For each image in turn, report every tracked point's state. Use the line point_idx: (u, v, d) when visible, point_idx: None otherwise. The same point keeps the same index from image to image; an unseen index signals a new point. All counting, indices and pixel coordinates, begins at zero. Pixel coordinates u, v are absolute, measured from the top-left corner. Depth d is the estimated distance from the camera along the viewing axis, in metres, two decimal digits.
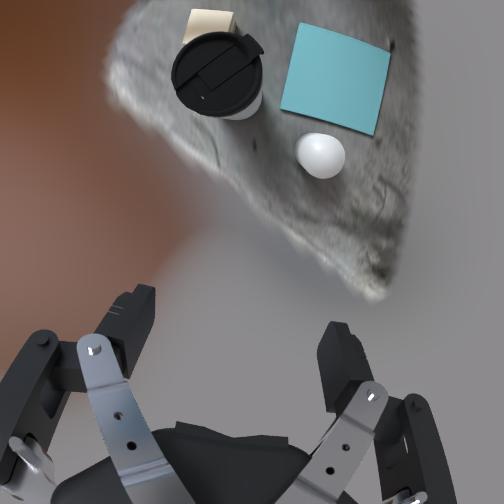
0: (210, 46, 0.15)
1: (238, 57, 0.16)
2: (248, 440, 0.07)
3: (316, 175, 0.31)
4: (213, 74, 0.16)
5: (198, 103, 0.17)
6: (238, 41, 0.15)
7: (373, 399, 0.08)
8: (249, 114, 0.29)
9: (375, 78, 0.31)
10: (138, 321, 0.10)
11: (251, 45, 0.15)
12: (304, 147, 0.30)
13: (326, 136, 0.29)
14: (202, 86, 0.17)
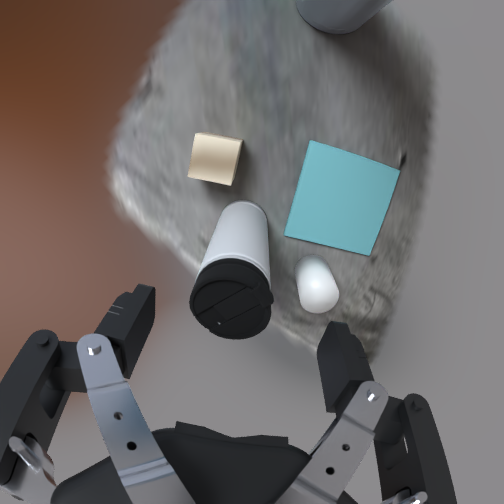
0: (224, 285, 0.21)
1: (250, 298, 0.21)
2: (248, 440, 0.07)
3: (311, 311, 0.36)
4: (227, 308, 0.21)
5: (215, 326, 0.23)
6: (250, 292, 0.20)
7: (373, 399, 0.08)
8: None
9: (380, 200, 0.36)
10: (138, 321, 0.10)
11: (262, 297, 0.20)
12: (303, 291, 0.35)
13: (324, 281, 0.34)
14: (218, 315, 0.22)
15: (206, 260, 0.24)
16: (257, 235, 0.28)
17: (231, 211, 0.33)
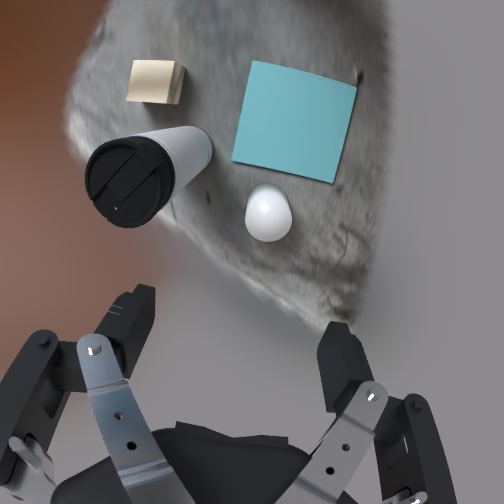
0: (113, 155, 0.16)
1: (140, 167, 0.17)
2: (248, 440, 0.07)
3: (261, 239, 0.32)
4: (120, 185, 0.17)
5: (112, 213, 0.18)
6: (134, 153, 0.16)
7: (373, 399, 0.08)
8: None
9: (337, 119, 0.31)
10: (138, 321, 0.10)
11: (147, 157, 0.16)
12: (248, 212, 0.31)
13: (271, 199, 0.30)
14: (113, 197, 0.18)
15: None
16: (180, 135, 0.24)
17: None
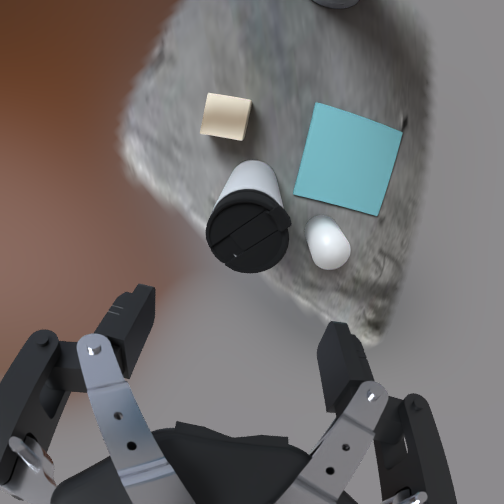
0: (241, 210, 0.21)
1: (267, 223, 0.21)
2: (249, 440, 0.07)
3: (324, 267, 0.36)
4: (244, 237, 0.22)
5: (231, 259, 0.23)
6: (268, 213, 0.20)
7: (373, 399, 0.08)
8: None
9: (385, 160, 0.36)
10: (138, 321, 0.10)
11: (280, 219, 0.20)
12: (315, 245, 0.35)
13: (335, 235, 0.34)
14: (234, 246, 0.22)
15: (222, 195, 0.24)
16: (270, 180, 0.28)
17: (242, 166, 0.33)
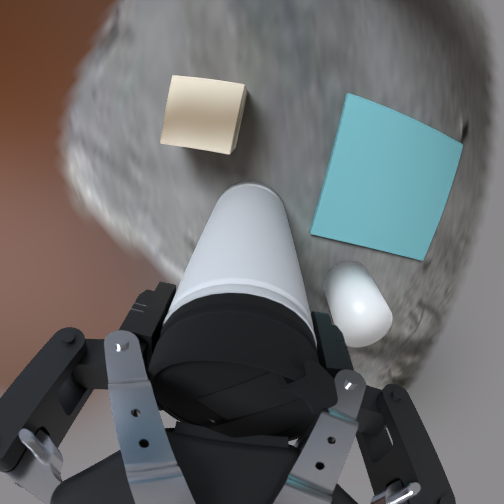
0: (216, 367, 0.08)
1: (280, 389, 0.08)
2: (248, 440, 0.07)
3: (352, 345, 0.23)
4: (227, 405, 0.09)
5: (205, 425, 0.10)
6: (286, 389, 0.07)
7: (349, 387, 0.09)
8: None
9: (440, 184, 0.23)
10: (162, 318, 0.11)
11: (314, 397, 0.07)
12: (343, 318, 0.22)
13: (374, 304, 0.21)
14: (209, 410, 0.09)
15: (180, 293, 0.11)
16: (280, 237, 0.15)
17: (231, 197, 0.20)
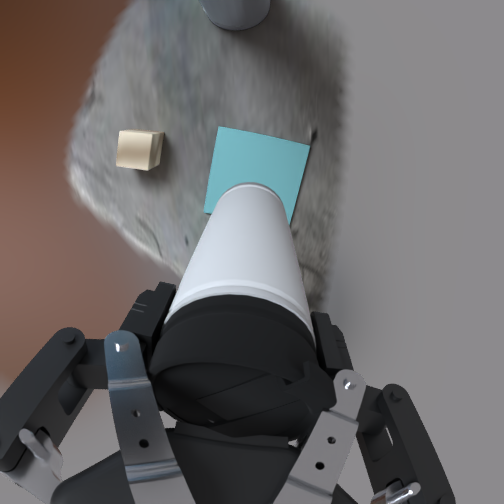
0: (216, 368, 0.08)
1: (279, 390, 0.08)
2: (249, 440, 0.07)
3: None
4: (227, 405, 0.09)
5: (205, 426, 0.10)
6: (285, 390, 0.07)
7: (349, 387, 0.09)
8: None
9: (292, 175, 0.40)
10: (162, 318, 0.11)
11: (313, 398, 0.07)
12: None
13: None
14: (208, 411, 0.09)
15: (180, 294, 0.11)
16: (280, 238, 0.15)
17: (231, 198, 0.20)
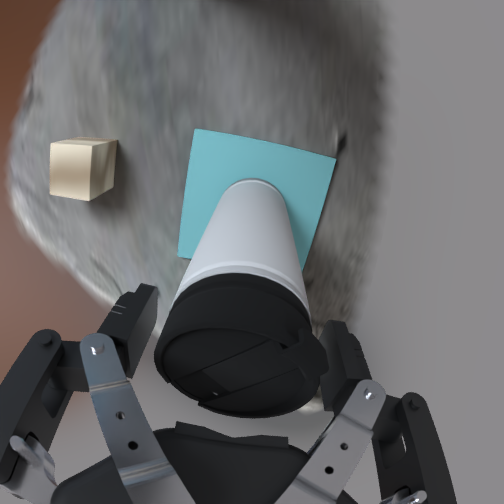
0: (221, 336, 0.09)
1: (277, 359, 0.09)
2: (248, 440, 0.07)
3: None
4: (230, 375, 0.10)
5: (208, 399, 0.11)
6: (282, 354, 0.08)
7: (370, 398, 0.08)
8: None
9: (307, 204, 0.27)
10: (141, 321, 0.10)
11: (307, 363, 0.08)
12: None
13: None
14: (212, 382, 0.11)
15: (188, 275, 0.12)
16: (279, 228, 0.16)
17: (235, 192, 0.22)
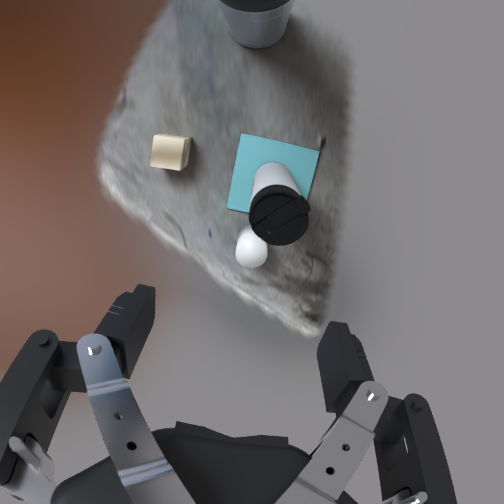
0: (275, 199, 0.29)
1: (293, 209, 0.29)
2: (249, 440, 0.07)
3: (247, 266, 0.47)
4: (276, 218, 0.30)
5: (266, 235, 0.31)
6: (295, 201, 0.28)
7: (373, 399, 0.08)
8: None
9: (304, 177, 0.47)
10: (138, 321, 0.10)
11: (303, 205, 0.28)
12: (237, 248, 0.46)
13: (252, 240, 0.45)
14: (269, 225, 0.31)
15: (258, 189, 0.32)
16: (290, 178, 0.36)
17: (266, 167, 0.42)
